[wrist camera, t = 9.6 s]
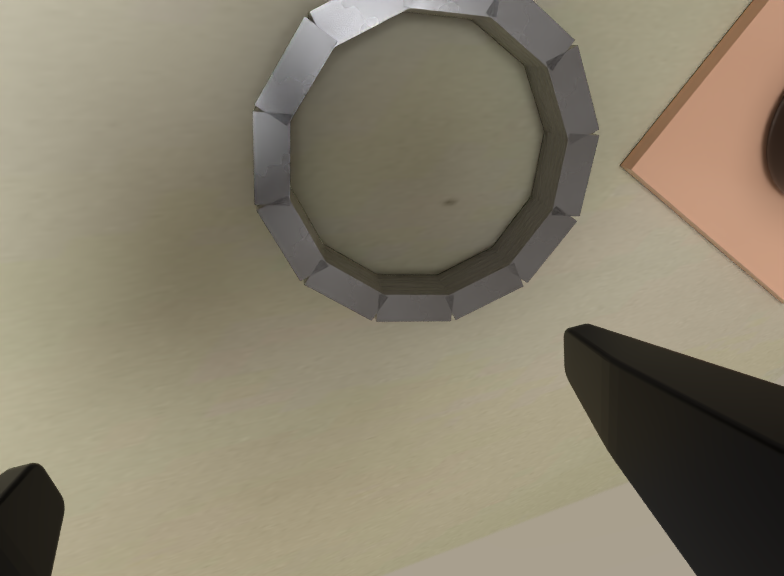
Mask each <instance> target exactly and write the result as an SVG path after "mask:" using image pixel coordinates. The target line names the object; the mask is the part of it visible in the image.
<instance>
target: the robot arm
mask: <svg viewBox="0 0 784 576" xmlns="http://www.w3.org/2000/svg"><path fill="white" fill-rule="evenodd" d="M564 366H565V373H566V376H567V378H568V381H569V383H570V384H571V386H572V388H573V390H574V392H575V393H576V395H577V397H578V399H579V401H580V402H581V404H582V406H583V408H584V409H585V411H586V413H587V415H588V417H589V418H590V420H591V422H592V424H593V426H594V427H595V429H596V431H597V433H598V435H599V436H600V438H601V440H602V442H603V443H604V445H605V447H606V448H607V450H608V452H609V453H610V455H611V456H612V458H613V459H614V461H615V462H616V463H617V465H618V466H619V468H620V469H621V470H622V472H623V473H624V475H625V476H626V477H627V479H628V480H629V482H630V483H631V484H632V486H633V487H634V488H635V490H636V491H637V493H638V494H639V496H640V497H641V498H642V500H643V501H644V503H645V504H646V505H647V507H648V508H649V510H650V511H651V512H652V514H653V515H654V517H655V518H656V519H657V521H658V522H659V524H660V525H661V526H662V528H663V529H664V530H665V532H666V533H667V535H668V536H669V538H670V539H671V540H672V542H673V543H674V545H675V546H676V547H677V549H678V550H679V552H680V553H681V554H682V556H683V557H684V559H685V560H686V561H687V563H688V564H689V566H690V567H691V568H692V570H693V571H694V573H695V574H696V575H697V576H784V386H781V385H778V384H774V383H771V382H768V381H765V380H762V379H759V378H756V377H753V376H750V375H746V374H743V373H740V372H737V371H734V370H731V369H728V368H725V367H722V366H718V365H715V364H712V363H709V362H706V361H703V360H700V359H697V358H694V357H691V356H687V355H684V354H681V353H678V352H675V351H672V350H669V349H666V348H663V347H659V346H656V345H653V344H650V343H647V342H644V341H641V340H638V339H635V338H632V337H628V336H625V335H622V334H619V333H616V332H613V331H610V330H607V329H604V328H600V327H597V326H594V325H591V324H583V325H579V326H575V327H571V328H568V329H567V330H566V331H565V333H564ZM63 516H64V500H63V498H62V495H61V494H60V492H59V491H58V489H57V488H56V486H55V484H54V483H53V481H52V480H51V478H50V477H49V475H48V474H47V472H46V471H45V469H44V468H43V467H42V466H41V465H40V464H38V463H30V464H26V465H22V466H18V467H14V468H10V469H8V470H6V471H5V472H4V473H2V474H1V475H0V576H51V574H52V569H53V564H54V560H55V555H56V550H57V545H58V540H59V536H60V531H61V526H62V521H63Z"/></svg>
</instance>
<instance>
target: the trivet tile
mask: <svg viewBox="0 0 784 576" xmlns="http://www.w3.org/2000/svg"><path fill="white" fill-rule="evenodd" d="M783 96H784V0H753V1H752V3H751V4H750V5H749V6H748V8H747V9H746V10H745V11H744V12H743V14H742V15H741V16H740V17H739V19H738V20H737V21H736V22H735V24H734V25H733V26H732V27H731V29H730V30H729V31H728V32H727V34H726V35H725V36H724V37H723V39H722V40H721V41H720V42H719V44H718V45H717V46H716V47H715V49H714V50H713V51H712V52H711V54H710V55H709V56H708V57H707V58H706V60H705V61H704V62H703V63H702V65H701V66H700V67H699V68H698V70H697V71H696V72H695V73H694V75H693V76H692V77H691V78H690V80H689V81H688V82H687V83H686V85H685V86H684V87H683V88H682V90H681V91H680V92H679V93H678V95H677V96H676V97H675V98H674V100H673V101H672V102H671V103H670V104H669V106H668V107H667V108H666V109H665V111H664V112H663V113H662V114H661V116H660V117H659V118H658V119H657V121H656V122H655V123H654V124H653V126H652V127H651V128H650V129H649V131H648V132H647V133H646V134H645V136H644V137H643V138H642V139H641V141H640V142H639V143H638V144H637V145H636V147H635V148H634V149H633V150H632V152H631V153H630V154H629V155H628V157H627V158H626V159H625V160H624V162H623V163H622V164H621V165H620V166H621V167H623V168H624V169H625V170H626V171H627V172H628V173H630V174H631V175H632V176H633V177H634V178H635V179H637V180H638V181H639V182H640V183H641V184H643V185H644V186H645V187H646V188H647V189H648V190H650V191H651V192H652V193H653V194H654V195H655V196H657V197H658V198H659V199H660V200H661V201H663V202H664V203H665V204H666V205H667V206H668V207H670V208H671V209H672V210H673V211H674V212H675V213H677V214H678V215H679V216H680V217H681V218H683V219H684V220H685V221H686V222H687V223H688V224H690V225H691V226H692V227H693V228H694V229H695V230H697V231H698V232H699V233H700V234H701V235H703V236H704V237H705V238H706V239H707V240H708V241H710V242H711V243H712V244H713V245H714V246H715V247H717V248H718V249H719V250H720V251H721V252H723V253H724V254H725V255H726V256H727V257H728V258H730V259H731V260H732V261H733V262H734V263H735V264H737V265H738V266H739V267H740V268H741V269H743V270H744V271H745V272H746V273H747V274H748V275H750V276H751V277H752V278H753V279H754V280H755V281H757V282H758V283H759V284H760V285H761V286H763V287H764V288H765V289H766V290H767V291H768V292H770V293H771V294H772V295H773V296H774V297H775V298H777V299H778V300H779V301H780V302H781V303H783V304H784V194H783V193H782V192H781V191H780V190H779V189H778V188H777V186H776V185H775V183H774V181H773V180H772V178H771V175H770V173H769V169H768V165H767V159H766V144H767V137H768V132H769V128H770V125H771V122H772V119H773V116H774V114H775V111H776V109H777V107H778V105H779V103H780V102H781V100H782V98H783Z"/></svg>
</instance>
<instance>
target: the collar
mask: <svg viewBox="0 0 784 576" xmlns="http://www.w3.org/2000/svg"><path fill="white" fill-rule="evenodd" d="M401 12H412V13H421V14H430V15H439V16H448V17H457V18H466V19H472V20H473V21H474V22H475V23H476V24H477V25H479V26H480V27H481V28H482V29H483V30H484V31H486V32H487V33H488V34H489V35H490V36H491V37H492V38H494V39H495V40H496V41H497V42H498V43H499V44H501V45H502V46H503V47H504V48H505V49H506V50H507V51H509V52H510V53H511V54H512V55H513V56H514V57H515V58H517V59H518V60H519V61H520V62H521V63H522V64H524V65H525V69H526V72H527V75H528V78H529V82H530V85H531V88H532V92H533V95H534V98H535V101H536V105H537V108H538V111H539V114H540V118H541V121H542V124H543V128H544V136H543V141H542V146H541V151H540V156H539V161H538V166H537V171H536V176H535V181H534V186H533V191H532V196H531V198H530V199H529V200H528V201H527V203H526V204H525V205H524V207H523V208H522V209H521V211H520V212H519V213H518V215H517V216H516V217H515V218H514V220H513V221H512V222H511V224H510V225H509V226H508V228H507V229H506V230H505V232H504V233H503V234H502V235H501V237H500V238H499V239H498V241H497V242H496V243H495V245H494V246H493V247H492V248H490V249H488V250H486V251H484V252H482V253H480V254H478V255H476V256H474V257H472V258H470V259H468V260H466V261H464V262H462V263H460V264H458V265H456V266H454V267H452V268H450V269H448V270H446V271H444V272H442V273H440V274H438V275H379V274H375V273H373V272H371V271H370V270H368V269H366V268H364V267H363V266H361V265H359V264H357V263H356V262H354V261H352V260H350V259H349V258H347V257H345V256H344V255H342V254H340V253H338V252H337V251H335V250H333V249H331V248H330V247H328V246H326V245H324V244H323V243H322V241H321V240H320V238H319V236H318V234H317V233H316V231H315V229H314V227H313V226H312V224H311V222H310V220H309V219H308V217H307V215H306V213H305V212H304V210H303V208H302V206H301V205H300V203H299V201H298V199H297V198H296V196H295V194H294V192H293V191H292V189H291V187H290V121H291V119H292V117H293V116H294V114H295V112H296V111H297V109H298V107H299V106H300V104H301V102H302V101H303V99H304V97H305V95H306V94H307V92H308V90H309V89H310V87H311V85H312V84H313V82H314V80H315V79H316V77H317V75H318V74H319V72H320V70H321V69H322V67H323V65H324V64H325V62H326V60H327V59H328V57H329V55H330V54H331V52H332V50H333V49H334V47H336V46H338V45H340V44H342V43H344V42H345V41H347V40H349V39H351V38H353V37H355V36H357V35H359V34H361V33H363V32H365V31H366V30H368V29H370V28H372V27H374V26H376V25H378V24H380V23H382V22H384V21H386V20H387V19H389V18H391V17H393V16H395V15H397V14H399V13H401ZM308 16H309V18H310V20H311V21H310V20H309V19H307V18H306V17H304V18H303V20H302V22H301V24H300V25H299V27H298V29H297V31H296V32H295V34H294V36H293V38H292V39H291V41H290V43H289V45H288V46H287V48H286V50H285V52H284V53H283V55H282V57H281V59H280V60H279V62H278V64H277V66H276V67H275V69H274V71H273V73H272V74H271V76H270V78H269V80H268V81H267V83H266V85H265V87H264V88H263V90H262V92H261V94H260V95H259V97H258V99H257V101H256V103H255V108H254V110H253V149H254V197H255V205H257V210H256V211H257V212H258V214H259V215H260V217H261V219H262V220H263V222H264V224H265V225H266V227H267V228H268V230H269V232H270V233H271V235H272V236H273V238H274V240H275V241H276V243H277V244H278V246H279V248H280V249H281V251H282V252H283V254H284V256H285V257H286V259H287V260H288V262H289V264H290V265H291V267H292V269H293V270H294V272H295V273H296V275H297V277H298V278H299V280H300V281H301V280H303V279H304V285H306V286H308V287H310V288H311V289H313V290H315V291H317V292H319V293H321V294H323V295H325V296H326V297H328V298H330V299H332V300H334V301H336V302H338V303H340V304H342V305H343V306H345V307H347V308H349V309H351V310H353V311H355V312H357V313H358V314H360V315H362V316H364V317H366V318H368V319H370V320H372V319H373V318H374V316H375V318H376V321H377V322H397V321H451V315H453V316H454V318H455V320H456V319H458V318H460V317H462V316H464V315H467V314H469V313H471V312H473V311H475V310H477V309H479V308H481V307H483V306H485V305H487V304H489V303H491V302H493V301H495V300H497V299H499V298H501V297H503V296H505V295H507V294H509V293H511V292H513V291H515V290H517V289H519V288H521V287H523V284H522V282H521V279H522V280H524V281H525V282H527V283H528V282H529V280H530V279H531V278H532V277H533V275H534V274H535V273H536V272H537V270H538V269H539V268H540V267H541V265H542V264H543V263H544V262H545V260H546V259H547V258H548V257H549V255H550V254H551V253H552V252H553V251H554V249H555V248H556V247H557V246H558V244H559V243H560V242H561V241H562V239H563V238H564V237H565V236H566V234H567V233H568V232H569V231H570V229H571V228H572V227H573V226H574V224H575V223H576V222H577V221H576V220H575V219H573V218H572V217H571V216H580V212H581V208H582V204H583V200H584V196H585V192H586V188H587V184H588V179H589V175H590V171H591V167H592V163H593V159H594V155H595V151H596V147H597V142H598V138H599V135H596V134H593V132H595V131H597V130H599V127H598V123H597V119H596V115H595V111H594V107H593V103H592V99H591V95H590V91H589V87H588V83H587V79H586V76H585V72H584V68H583V64H582V60H581V56H580V52H579V48H578V45H572V43H573V42H574V39H573V38H572V37H571V36H570V35H569V34H568V33H567V32H566V31H565V30H564V29H563V28H561V27H560V26H559V25H558V24H557V23H556V22H555V21H554V20H553V19H552V18H551V17H550V16H549V15H548V14H547V13H546V12H545V11H543V10H542V9H541V8H540V7H539V6H538V5H537V4H536V3H535V2H534V1H533V0H331V1H329V2H327V3H325V4H323V5H321V6H319V7H317V8H316V9H314V10H312V11H310V12H309V13H308ZM520 278H521V279H520Z"/></svg>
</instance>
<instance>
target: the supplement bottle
mask: <svg viewBox="0 0 784 576" xmlns="http://www.w3.org/2000/svg"><path fill="white" fill-rule="evenodd" d="M766 159H767V165H768V169H769V173H770V175H771V178H772V180H773V181H774V183H775V185H776V186H777V188H778V189H779V190H780V191H781V192H782V193H783V194H784V96H783V98H782V100H781V102H780V103H779V105H778V107H777V109H776V111H775V114H774V116H773V119H772V122H771V125H770V128H769V132H768V137H767V144H766Z"/></svg>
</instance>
